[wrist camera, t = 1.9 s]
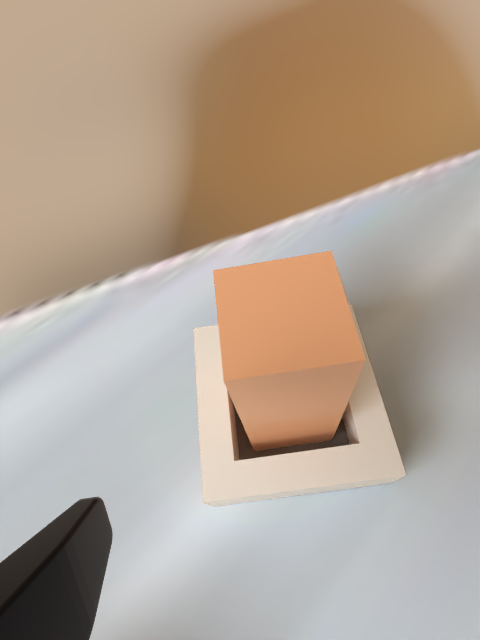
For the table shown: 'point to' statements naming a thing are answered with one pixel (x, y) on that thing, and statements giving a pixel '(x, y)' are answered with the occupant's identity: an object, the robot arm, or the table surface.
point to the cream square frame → (292, 468)
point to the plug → (287, 348)
